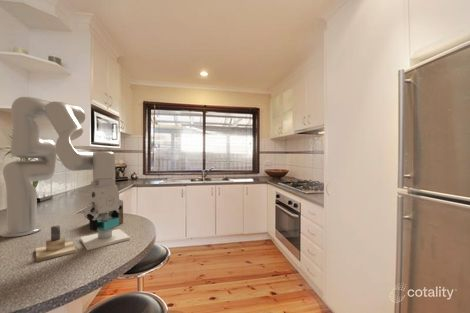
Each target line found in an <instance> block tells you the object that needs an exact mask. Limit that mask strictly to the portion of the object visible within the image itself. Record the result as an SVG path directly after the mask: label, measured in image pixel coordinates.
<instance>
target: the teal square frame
mask: <svg viewBox="0 0 470 313" xmlns="http://www.w3.org/2000/svg"><path fill="white" fill-rule="evenodd" d="M96 220H98V230H107V229H110V228H112V229H113V228H115V227H118V226H119V225H120V224H119V217H109V220H106V221H101V218H99V219H96ZM98 230H97V231H98Z"/></svg>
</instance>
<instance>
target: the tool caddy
mask: <svg viewBox="0 0 470 313" xmlns="http://www.w3.org/2000/svg"><path fill="white" fill-rule="evenodd" d="M88 203H89V204H88V206H89V205H90V202H88ZM89 212H90V211H89ZM90 213H91V212H90ZM107 213H108V214H109V217H111V213H113V212H112V211H110V212H107ZM103 214H105V213H103ZM94 215H95V214H94ZM94 215H93V216H94ZM99 218H101V214H99V215H98V217H97V218H96V219H99ZM121 224H124V203H123V204H122V208H121V209H120V212H119V225H121Z"/></svg>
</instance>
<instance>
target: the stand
mask: <svg viewBox="0 0 470 313" xmlns="http://www.w3.org/2000/svg"><path fill="white" fill-rule="evenodd" d="M74 253H77V248H76V247H75V244H74V242H73V240H72V239H69V240H66V238H65V237H64V236H61V225H54V226H51V227H50V239H47V240H46V241H45V245H41V246H37V247H35V259H36V263H39V262H42V261H47V260H50V259H54V258H58V257H62V256H66V255H70V254H74Z"/></svg>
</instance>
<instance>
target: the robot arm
mask: <svg viewBox="0 0 470 313" xmlns="http://www.w3.org/2000/svg"><path fill="white" fill-rule="evenodd" d="M10 114H11V118H12V133H11V135H12V136H11V143H10V152H11V155H12V156H13V157H15V158H19V159H37V160H16V161H10V162H9V163H6V164H5V165H4V166H3V168H2V174H3V175H2V176H3V179H4V182H5V189H6V190H5V191H6V230H5V231H3V232H2V233H1V237H2V238H15V237H16V238H17V237H22V236H27V235H30V234H35V233H38V232H40V231H41V230H42V229H43V228H42V226H41V225H38V203H37V202H38V200H37V199H38V198H37V197H38V196H37V195H38V194H37V193H38V192H37V189H36V187H35V186H34V185H33V184H32V182H42V181H47V180H51V179H52V178H53V177H54V174H55V171H56V170H55V169H56V163H57V162H56V161H57V157H58V158H59V159H58V160H60V162H61V164H62V165H63V166H64V167H65V168H66V169H68V170H69V171H72V172H77V171H92V181H91V182H90V185H92V187H91V191H90V194H89V195H90V196H89V197H90V198H89V203H90V205H89V204H88V205H87V206H86V207H85V208H84V209H82V214H83V215H84V218H86V219H87V221H89V230H90V231H93V232H96V231H97V232H98V220H96V218H97V217H98V215H99V214H103V213H107V212H110V211H112V212H113V213H111V217H119V212H120V209H121V208H122V204H123V205H124V201H123V200H121V199H120V194H119V189H118V188H119V187H118V185H117V184H116V155H115V153H114V152H112V151H85V150H84V151H83V150H76V148H74V146H73V144H72V143H71V142H73V141H74V140H77V139H78V138H80V137H81V136H82V135H83V133H84V129H83V127H82V126H81V124H83V123H84V122H85V120H86V112H85V111H84V110H83V108H82V107H80V106H78V105H74V104H71V103H67V102H63V101H48V100H45V99H41V98H36V97H31V96H21V97H17V98H15V100H14V101H13V102H12V104H11V109H10ZM36 119H38V120H39V119H40V120H45V121H49V122H50V123H51V125H52V127H53V128H54V130H55V132H56V133H57V135H58V138H57V139H56V142H55V141H53V140H52V139H50V138H46V137H40V131H41V128H40V126H39V124H38V122H37V120H36ZM90 212H91V213H90ZM94 214H95V215H94ZM93 215H94V216H93Z"/></svg>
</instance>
